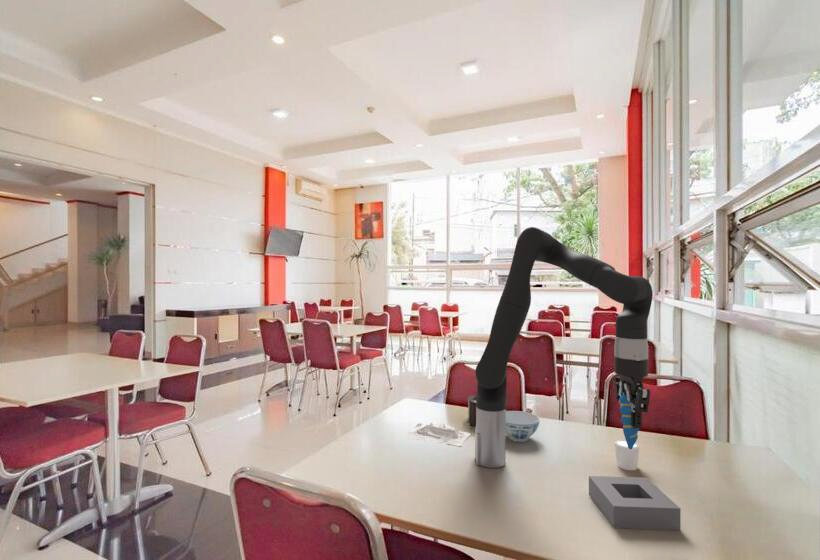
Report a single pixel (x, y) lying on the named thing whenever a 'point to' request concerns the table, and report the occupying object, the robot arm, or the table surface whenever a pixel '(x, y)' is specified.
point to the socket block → (634, 503)
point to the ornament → (628, 422)
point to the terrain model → (439, 434)
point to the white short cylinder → (626, 455)
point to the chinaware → (521, 425)
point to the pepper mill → (472, 410)
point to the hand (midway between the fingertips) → (630, 423)
